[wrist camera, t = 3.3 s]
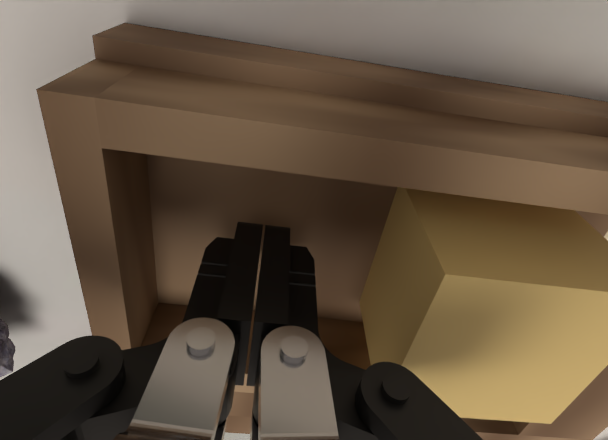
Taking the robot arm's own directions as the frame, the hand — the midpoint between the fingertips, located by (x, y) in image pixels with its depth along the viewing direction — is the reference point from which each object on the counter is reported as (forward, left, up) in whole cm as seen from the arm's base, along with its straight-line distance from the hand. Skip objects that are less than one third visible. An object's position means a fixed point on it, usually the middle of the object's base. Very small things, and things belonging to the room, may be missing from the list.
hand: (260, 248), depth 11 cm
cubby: (-2, 0, -1) cm, 3 cm away
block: (-6, 0, -1) cm, 6 cm away
